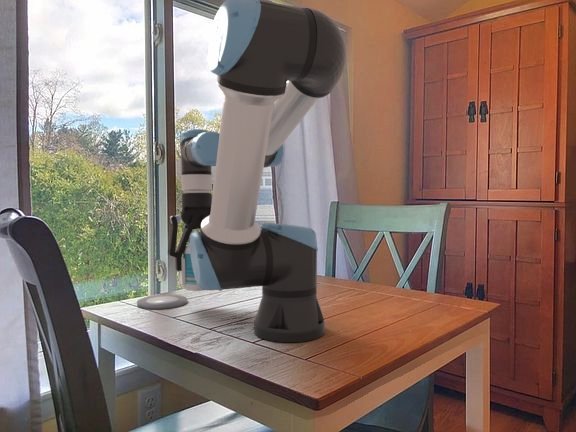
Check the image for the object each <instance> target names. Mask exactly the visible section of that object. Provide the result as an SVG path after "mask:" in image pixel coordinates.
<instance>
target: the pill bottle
mask: <svg viewBox="0 0 576 432" xmlns="http://www.w3.org/2000/svg"><path fill="white" fill-rule="evenodd" d="M190 236H191V235H190ZM190 236H189V239H188V242H189V243H187V244H186V247H185V250H184V252H183V255H182V257H183V258H185V281H186V285H183V288H184V290H186V291H189V292H202V291H205V290H203V289H201V288H200V287H199V286H198V284H197V282H196V279H195V276H194V272H193V268H192V262H191V255H190Z"/></svg>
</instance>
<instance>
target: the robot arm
mask: <svg viewBox="0 0 576 432" xmlns="http://www.w3.org/2000/svg"><path fill="white" fill-rule="evenodd" d="M210 29H211V30H210V31H209V33H210V34H209V37H208V38H209V39H208V44H207V52H208V54H207V66H208V69H209V71H210V72H211V73H212V74H214V75H216V82H215V83H216V85H217V86H218V88H219V89H220V91H221V92H222V94H223V103H222V109H221V110H222V111H221V119H220V127H219V128H220V129H219V132H216V131H213V130H206V129H201V128H199V129H198V128H191V129H184V130H182V131H181V133H180V142H179V147H180V165H181V166H180V168H181V169H180V171H181V191H182V192H183V193H182V194H181V212H180V213H179V214H177V215H170V216H169V222H170V230H169V239H168V246H167V247H168V248H167V255H168V256H170V257H173V258H174V259H175V270H176V272H179V284H181V285H182V286H184V285H186V281H185V258H183V252H184V250H185V247H186V245H188V242H189V241H188V239H189V236H190V242H189V243H190V255H191V262H192V268H193V272H194V276H195V279H196V282H197V284H198V286H199V287H200V288H201V289H203V290H204V291H219V292H222V291H223V290H231V289H234V290H235V289H242V288H243V289H245V288H255V287H261V288H262V289H261V291H262V293H261V299H260V303H259V305H258V309H257V312H256V315H255V319H254V323H253V324H254V326H253V327H254V328H253V329H254V331H253V332H254V335H255V336H256V337H258V338H260V339H263V340H266V341H271V342H278V343H300V342H301V343H302V342H308V341H313V340H316V339H319V338H320V337H322V336H324V335H325V333H326V328H325V327H326V322H325V318H324V314H323V313H322V312H323V311H322V309H321V306H320V303H319V300H318V296H317V294H318V292H317V287H318V284H317V283H318V281H317V279H318V278H317V276H318V275H317V274H318V270H317V269H318V251H319V250H318V242H317V233H316V232H315V230H314V229H313V228H311V227H306V226H300V225H292V224H286V223H275V222H263V223H262V224H261V226H260V225H259V224H258V222H256V214H257V210H258V205H259V204H258V203H259V197H260V191H261V184H262V178H263V174H264V173H263V172H264V168H265V169H266V168H271V167H273V168H274V167H278V166H279V165H280V164H281V163H282V161H283V160H282V159H283V158H284V151H285V150H284V143H285V141H286V140H287V139H288V138H289V137H290V136H291V134H292V132H293V131H294V130H295V129H296V127H297V126H299V124H300V122H302V120H303V119H304V117H305V116H306V115H307V114H308V113H309V112H310V110H311V109H312V107H313V106H314V105H315V103H316V102H317V101H318V100H319V99H322V98H326V97H327V96H328V95H329V94H330V93H331V92H332V91H333V90H334V89H335V88H336V86H337V85H338V83H339V82H340V81H341V78H342V76H343V73H344V70H345V66H346V63H347V60H346V59H347V49H346V44H345V43H346V42H345V39H344V37H343V34H342V31H341V30H340V28H339V27H338V25H337V24H336V23H335V21H334V20H333V19H332V18H330V17H329V16H328V15H327V14H326V13H323V12H322V11H320V10H317V9H314V8H309V7H300V6H296V5H295V6H293V5H288V4H283V3H277V2H272V1H268V0H267V1H266V0H225V1H224V2H223V3H222V4H221V5H220V6H219V8H218V11H217V12H216V14H215V16H214V19H213V22H212V25H211V28H210ZM212 167H215V169H214V170H215V172H214V181H212V180H213V179H212V177H213V176H212V174H213V173H212ZM210 191H211V192H210ZM181 220H182V221H183V223H184V224H185V225H184V228H183V232H182V234H181V237H180V240H179V243H178V245H176V244H177V239H178V238H177V237H178V231H179V230H178V229H179V224H180V223H181ZM199 229H200V231H193V230H199ZM176 247H177V249H176Z"/></svg>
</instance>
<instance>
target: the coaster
mask: <svg viewBox="0 0 576 432" xmlns="http://www.w3.org/2000/svg"><path fill="white" fill-rule="evenodd" d="M187 303H188V298H187V297H186V296H183V295H179V294H157V295H151V296H150V295H149V296H146V297H141V298H140V299H138V300H137V301H136V306H137V307H138V308H139V309H145V310H167V309H169V310H170V309H174V308H179V307H183V306H186V304H187Z"/></svg>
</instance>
